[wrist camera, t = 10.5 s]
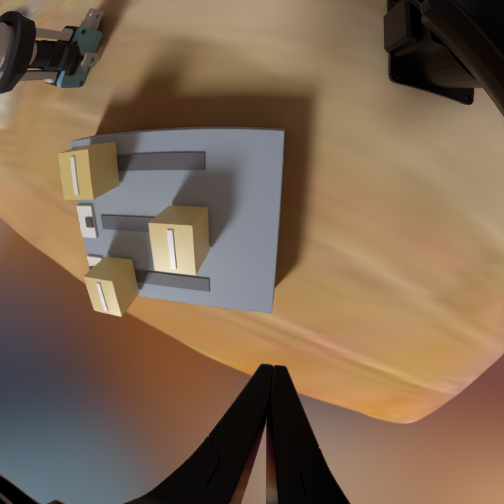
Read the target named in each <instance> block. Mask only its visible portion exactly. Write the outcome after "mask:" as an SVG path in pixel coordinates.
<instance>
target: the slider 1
mask: <svg viewBox="0 0 504 504" xmlns="http://www.w3.org/2000/svg"><path fill="white" fill-rule="evenodd" d="M58 156H59V165H60V173H61V181H62V188H63V194H64V200H94V199H96V198H97V197H99V196H101V195H103V194H105V193H107V192H108V191H110V190H112V189H114V188H116V187H118V186H120V185H119V175H118V163H117V149H116V142H107V143H99V144H91V145H85V146H82V147H78V148H75V149H71V150H68V151H65V152H61V153H58Z"/></svg>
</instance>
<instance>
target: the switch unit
mask: <svg viewBox="0 0 504 504" xmlns="http://www.w3.org/2000/svg"><path fill="white" fill-rule="evenodd" d="M107 142H116V149H117V163H118V175H119V185H120V186H118V187H116V188H114V189H112V190H110V191H108V192H107V193H105V194H103V195H101V196H99V197H97V198H96V199H94V200H76V201H77V212H78V217H79V222H80V227H81V232H82V237H83V238H84V242H85V247H86V251H87V255H88V256H87V259H88V263H89V269H90V270H91V269H92V268H93V267H94V266H95V265H96V264H97V263H99V262H100V261H101V260H102V259H103V258H104V257H105V256H106V257H114V258H123V259H131V260H133V265H134V270H135V275H136V280H137V285H138V290H139V294H138V296H144V297H150V298H156V299H163V300H169V301H176V302H183V303H190V304H197V305H204V306H212V307H220V308H228V309H237V310H245V311H255V312H264V313H272V306H273V299H274V291H275V280H276V268H277V255H278V242H279V229H280V214H281V199H282V183H283V166H284V148H285V129H283V128H266V127H230V126H213V127H178V128H161V129H147V130H136V131H126V132H117V133H109V134H102V135H95V136H90V137H86V138H82V139H78V140H74V141H70V150H71V149H75V148H78V147H82V146H85V145H91V144H99V143H107ZM169 205H176V206H197V207H208V220H209V247H210V251H209V253H208V255H207V257H206V258H205V260H204V262H203V264H202V265H201V267H200V269H199V271H198V272H197V274H196V275H188V274H180V273H171V272H163V271H155V268H154V262H153V255H152V248H151V241H150V233H149V225H148V223H149V222H150V221H151V220H152V219H153V218H155V217H156V216H157V215H158V214H159V213H160V212H162V211H163V210H164V209H165V208H167V207H168V206H169Z"/></svg>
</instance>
